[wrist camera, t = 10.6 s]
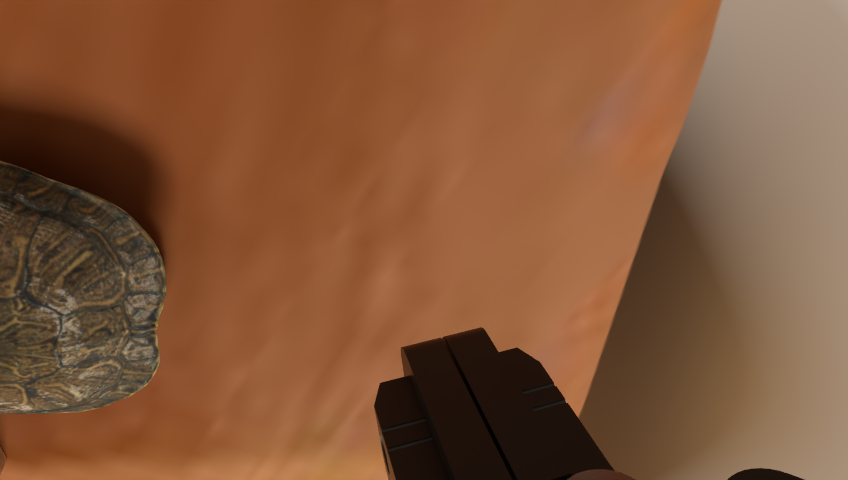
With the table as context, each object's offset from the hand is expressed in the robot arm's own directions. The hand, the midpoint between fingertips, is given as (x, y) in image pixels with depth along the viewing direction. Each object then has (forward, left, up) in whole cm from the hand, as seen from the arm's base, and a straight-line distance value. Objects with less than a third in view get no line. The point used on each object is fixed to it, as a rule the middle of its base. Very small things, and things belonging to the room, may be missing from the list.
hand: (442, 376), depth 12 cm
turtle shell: (+9, -20, -29) cm, 37 cm away
